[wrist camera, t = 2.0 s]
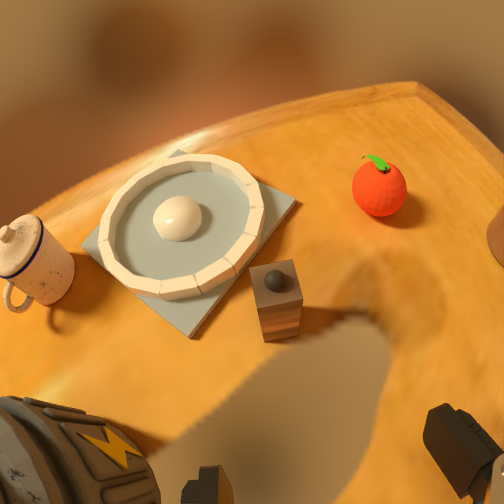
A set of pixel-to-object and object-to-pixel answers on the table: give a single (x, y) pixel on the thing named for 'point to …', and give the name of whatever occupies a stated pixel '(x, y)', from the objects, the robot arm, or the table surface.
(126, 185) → the groove dish
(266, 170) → the table surface
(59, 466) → the decorative lamp
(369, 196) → the clementine
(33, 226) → the teacup with lid
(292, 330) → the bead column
